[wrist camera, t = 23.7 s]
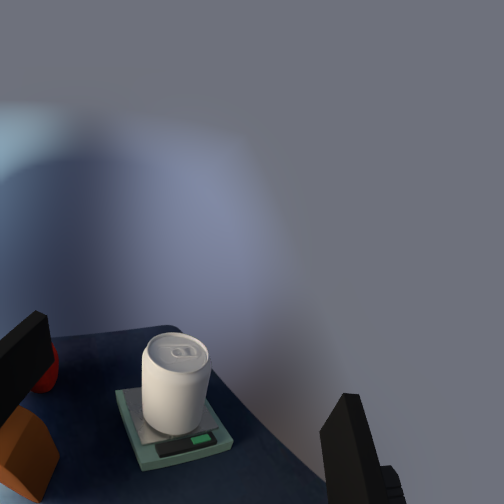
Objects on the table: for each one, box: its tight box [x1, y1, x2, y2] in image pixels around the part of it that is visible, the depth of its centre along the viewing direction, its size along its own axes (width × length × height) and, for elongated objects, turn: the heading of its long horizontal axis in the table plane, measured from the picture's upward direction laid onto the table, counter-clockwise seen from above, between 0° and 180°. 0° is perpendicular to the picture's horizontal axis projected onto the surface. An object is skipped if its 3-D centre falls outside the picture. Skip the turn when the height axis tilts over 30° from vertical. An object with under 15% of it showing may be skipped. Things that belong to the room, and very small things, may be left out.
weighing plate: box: [122, 387, 219, 446], centre depth 36 cm, size 10×11×1 cm
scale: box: [115, 390, 233, 471], centre depth 36 cm, size 13×13×4 cm
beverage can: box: [142, 332, 212, 435], centre depth 33 cm, size 8×8×12 cm
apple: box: [31, 343, 59, 393], centre depth 33 cm, size 9×9×8 cm
